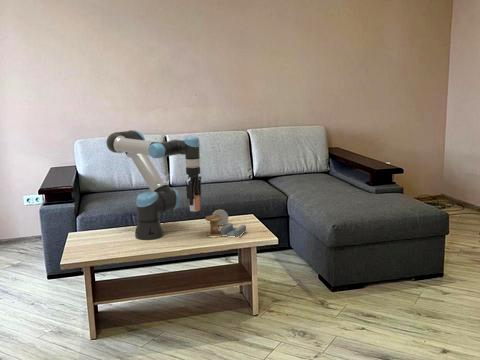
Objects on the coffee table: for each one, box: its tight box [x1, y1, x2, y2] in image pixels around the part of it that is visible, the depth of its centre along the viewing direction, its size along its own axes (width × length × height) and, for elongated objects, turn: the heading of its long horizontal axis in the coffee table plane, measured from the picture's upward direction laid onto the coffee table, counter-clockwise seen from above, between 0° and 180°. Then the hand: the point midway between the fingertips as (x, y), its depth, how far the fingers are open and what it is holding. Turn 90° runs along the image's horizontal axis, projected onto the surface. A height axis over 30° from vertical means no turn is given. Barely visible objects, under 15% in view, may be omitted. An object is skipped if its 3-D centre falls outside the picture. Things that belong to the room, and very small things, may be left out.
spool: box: [205, 214, 222, 237], centre depth 270 cm, size 9×9×10 cm
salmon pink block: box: [188, 195, 201, 213], centre depth 266 cm, size 4×4×8 cm
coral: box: [211, 209, 229, 226], centre depth 290 cm, size 10×10×10 cm
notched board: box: [220, 223, 247, 237], centre depth 271 cm, size 10×11×4 cm
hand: (194, 209), depth 267 cm, fingers closed on salmon pink block, 4 cm apart
